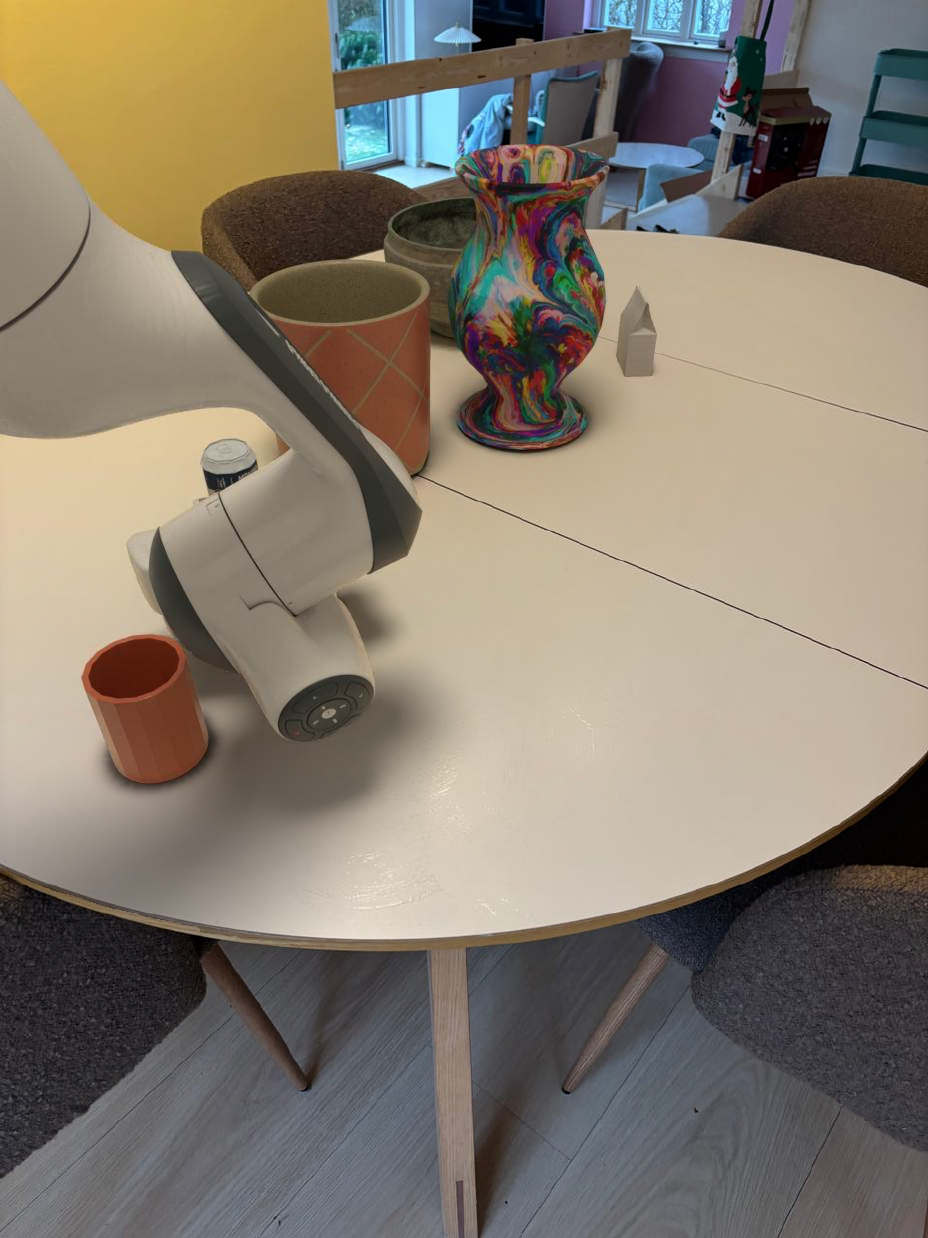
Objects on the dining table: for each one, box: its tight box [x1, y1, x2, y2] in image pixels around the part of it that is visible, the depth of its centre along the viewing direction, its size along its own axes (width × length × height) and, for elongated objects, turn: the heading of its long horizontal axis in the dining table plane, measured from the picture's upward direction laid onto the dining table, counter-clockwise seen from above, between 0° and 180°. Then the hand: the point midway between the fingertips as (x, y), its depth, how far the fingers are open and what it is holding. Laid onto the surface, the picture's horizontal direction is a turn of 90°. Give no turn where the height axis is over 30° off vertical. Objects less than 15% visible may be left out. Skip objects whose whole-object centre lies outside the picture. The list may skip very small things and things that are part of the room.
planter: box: [248, 258, 431, 476], centre depth 101 cm, size 19×19×20 cm
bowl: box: [383, 196, 477, 339], centre depth 133 cm, size 32×26×15 cm
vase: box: [447, 143, 611, 450], centre depth 104 cm, size 18×18×30 cm
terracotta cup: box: [81, 633, 209, 784], centre depth 69 cm, size 7×7×9 cm
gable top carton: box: [615, 285, 658, 378], centre depth 122 cm, size 4×7×10 cm, turn 2°
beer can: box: [200, 437, 259, 497], centre depth 81 cm, size 5×5×12 cm
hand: (234, 497), depth 81 cm, fingers closed on beer can, 5 cm apart
